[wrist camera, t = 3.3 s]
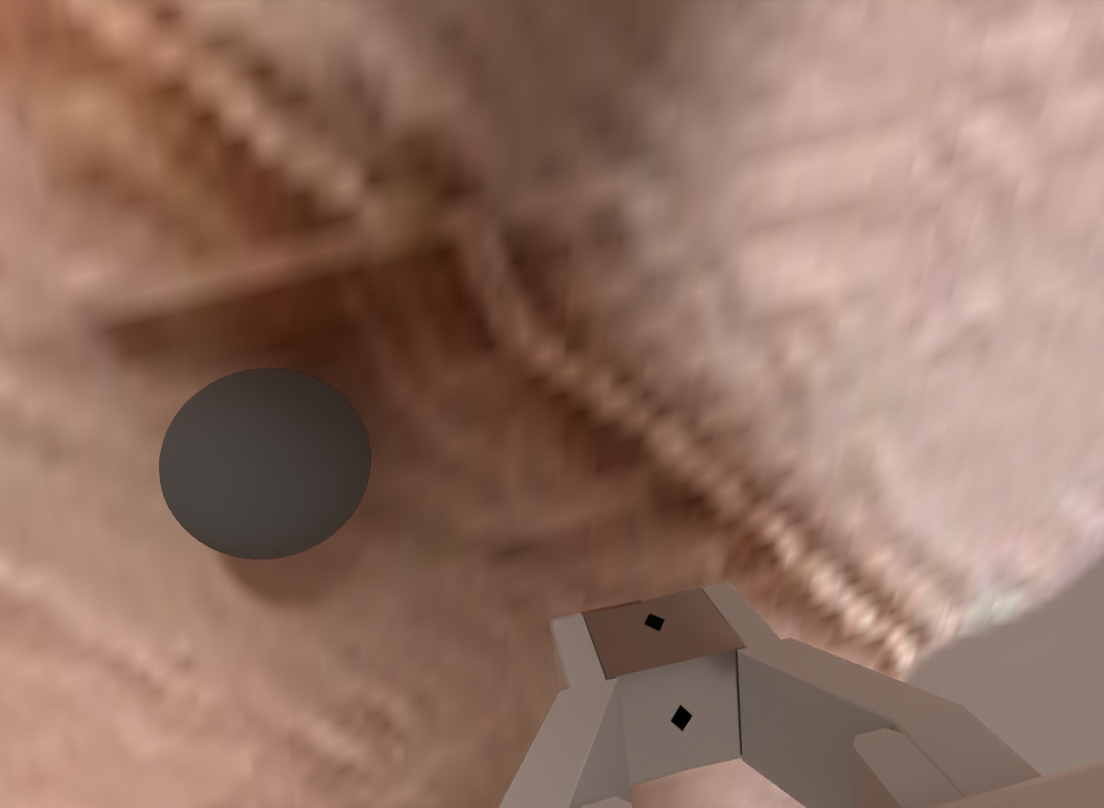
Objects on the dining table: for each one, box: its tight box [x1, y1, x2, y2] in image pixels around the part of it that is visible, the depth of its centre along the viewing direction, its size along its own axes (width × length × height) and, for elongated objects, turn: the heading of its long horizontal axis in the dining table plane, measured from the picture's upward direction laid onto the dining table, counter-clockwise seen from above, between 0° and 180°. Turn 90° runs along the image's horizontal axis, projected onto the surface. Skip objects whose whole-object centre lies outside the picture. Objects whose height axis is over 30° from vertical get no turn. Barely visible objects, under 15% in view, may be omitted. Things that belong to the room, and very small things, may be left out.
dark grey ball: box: [159, 368, 371, 559], centre depth 19 cm, size 6×6×6 cm
